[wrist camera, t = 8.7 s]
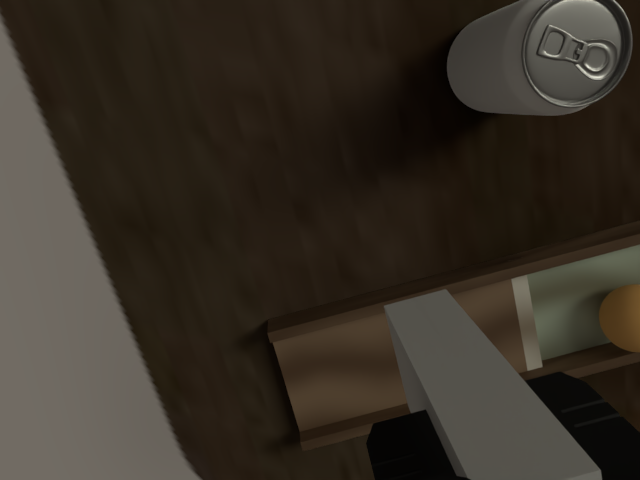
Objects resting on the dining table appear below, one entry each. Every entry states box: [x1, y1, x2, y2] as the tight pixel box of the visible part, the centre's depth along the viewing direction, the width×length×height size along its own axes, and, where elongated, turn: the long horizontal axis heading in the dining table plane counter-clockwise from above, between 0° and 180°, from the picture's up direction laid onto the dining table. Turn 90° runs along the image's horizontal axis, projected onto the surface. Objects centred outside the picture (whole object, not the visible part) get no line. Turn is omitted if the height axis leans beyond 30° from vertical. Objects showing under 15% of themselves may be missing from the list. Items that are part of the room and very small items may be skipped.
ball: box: [599, 284, 640, 352], centre depth 42 cm, size 5×5×5 cm
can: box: [447, 0, 633, 116], centre depth 33 cm, size 6×6×12 cm
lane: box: [267, 221, 640, 451], centre depth 42 cm, size 10×36×5 cm, turn 104°
